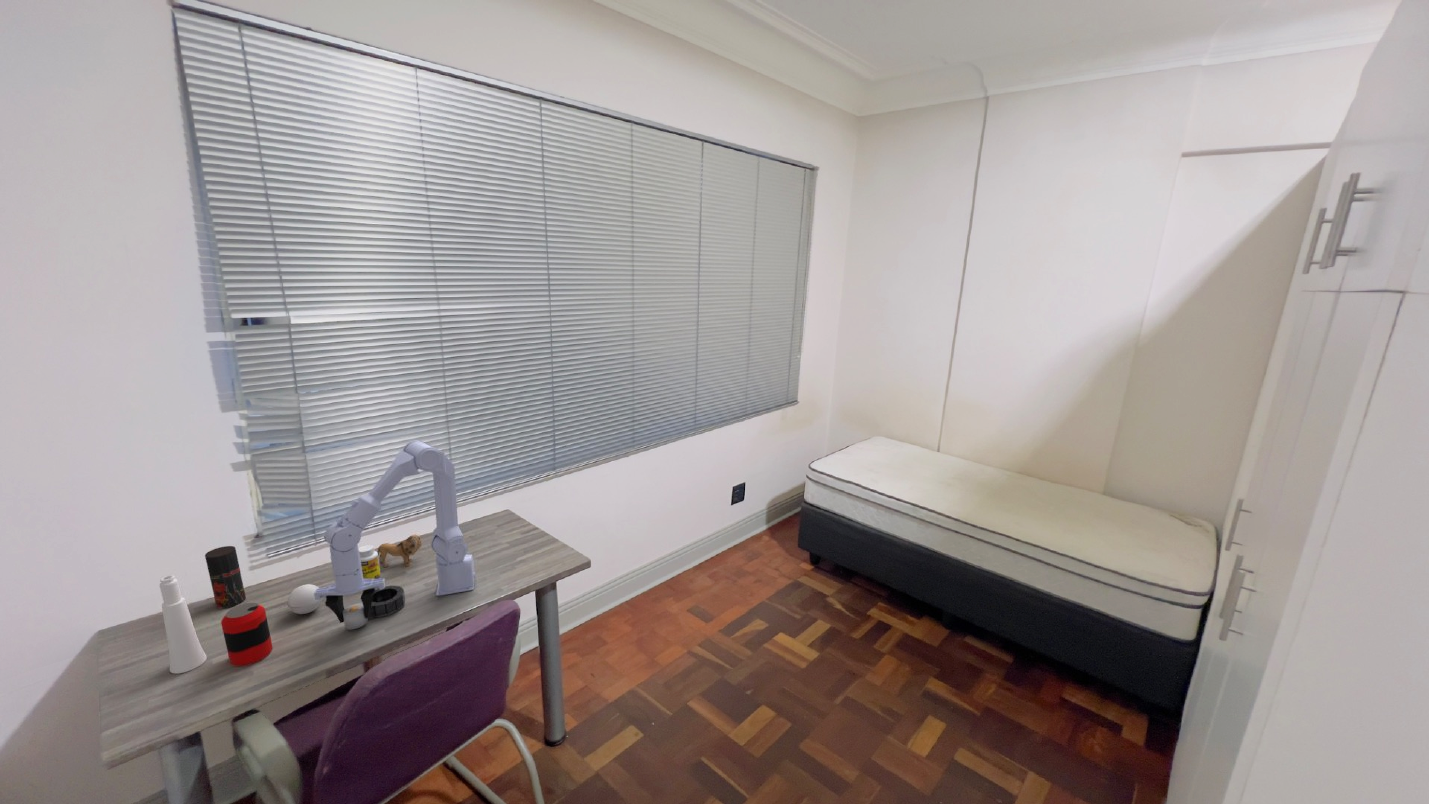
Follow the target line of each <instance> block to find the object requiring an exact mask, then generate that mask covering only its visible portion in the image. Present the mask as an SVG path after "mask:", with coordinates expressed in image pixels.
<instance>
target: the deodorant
mask: <svg viewBox="0 0 1429 804" xmlns="http://www.w3.org/2000/svg"><path fill="white" fill-rule="evenodd" d="M236 549H237V548H236V547H235V546H233V545H226V546H221V547H215V548H213V549H211V550H209V551H207V552H206V553H205V555H204V557H205V562H206V567H207V570H208V575H209V580H210V585H211V588H212V592H213V597H214V601H215V606H216V608H217V609H219V610H223V609H231V608H234V607H236V606H239V605H241V604H242V603H243V602H244V601H245V600H246V599H247V596H246V592H245V588H244V582H243V578H242V574H241V573H242V572H241V568H240V564H239V559H238V554H237V550H236Z"/></svg>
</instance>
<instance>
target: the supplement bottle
mask: <svg viewBox="0 0 1429 804" xmlns="http://www.w3.org/2000/svg"><path fill="white" fill-rule="evenodd" d="M358 549H359V554H360V561H361V567H362V573H363V579H381V577H382V575H381V569H380V568H381V566H380V560H379V558H380V557H379V556H378V553H377V551H376V550H375V548H374V545H372V544H371V545H370V544H367V545H363V546H361V547H358Z"/></svg>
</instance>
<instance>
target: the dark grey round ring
mask: <svg viewBox="0 0 1429 804" xmlns="http://www.w3.org/2000/svg"><path fill="white" fill-rule="evenodd" d="M405 603H406V597H405V590H404V588H402V586H399V585H387V586H386V585H385V588H384V589H381V590H379V589H376V590H375V592H374V595H373V599H372V603H371V614H370V616H369V618H372V619H378V618H379V619H380V618H385V617H388V616H391V615H394V614H395V613H397V612H398V611H400V610H402V609H403V608H404V606H405V605H406V604H405Z"/></svg>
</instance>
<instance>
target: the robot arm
mask: <svg viewBox="0 0 1429 804" xmlns="http://www.w3.org/2000/svg"><path fill="white" fill-rule="evenodd" d="M419 470H421V471H423V472H429V473H432V475H433V476H432V478H433V492H434V495H433V496H434V507H435V508H434V509H435V520H436V523H435V524H436V527H435V528H434V529H433V537H432V539H431V542H430V548H431V549H432V551H433V552H435V554H436V557H435V563H436V571H437V580H438V585H437V588H436V593H435V596H437V597H439V596H445V595H451V594H457V593H461V592H469V591H473V590H474V588H475V582H476V581H475V580H476V572H475V565H474V564H475V563H474V556H473V554H468V548H469V547H468V545H467V543H466V541H465V540H464V535H463V532H462V531H461V529H460V527H459V520H458V503H457V486H456V473H455V472H456V471H455V470H456V469H455V465H454V464H453V462H452V461H451V460H450V459H449V458H448V456H447V455H446V453H445V452H444V451H443V450H440V449H438V448H435V447H434V446H432V445H431V444H428V443H426V442H424V441H422V440H417V439H415V440H411V441H409V442H407V443H406V444H405V446H404V447H403V449H402V450H400V451H398V453H397V454H396V456H395V459H394V460H393V462H392V463H391V465H390V466H389V467H388V468H387V469H386V471H385V472H384V473H383V475H381V477H380V478H379V480H378V481H377V482H376V484H375V485H374V486H373V487H372V489H371V490H370V491H369V493H367V494H363V495H360V496H359V497H358V498H357V499H353V500H352V501H351V502H350V505H351V506H350V507H349V508H348V509H347V510H346V511H345V513H344V514H342V516H341V517H338V518H337V520H336V522H335V523H332V524H330V525H329V526H328V528H326V530H325V534H324V535H323V539H324V541H325V542H326V543H328V544H329V553H330V561H331V567H332V574H333V578H334V579H333V580H334V584H331V585H327V586H324V587H318V588H319V589H316V591H315V593H314V596H315V600H319V599H321V598H322V599H323V598H325V602H324V605H325V606H326V607H328V608H329V609H330V610H331V611H332V612H333V613H334V614H335V615H336V617H337V619H338V621H339V623H344V618H343V610H344V609H345V606H344V596H349V595H353V594H356V593H361V592H362V594H361V596H360V600H361V603H362V604H363V607H364V614H365V618H367V619H369V618H370V617H369V616H370V614H371V603H372V599H373V595H374V592H375V590H376V589H379V590H381V589H384V588H385V587H386V578H380V579H363V573H362V567H361V561H360V554H359V549H358V548H359V547H358V544H359V543H360V542H361V538H362V535H361V534H362V533H363V531H364V530H365V529H366V527H367V526H369V524H370V523H371V521H373V519H374V518H375V516H376V515H378V513H379V512H380V511H381V510H382V505H381V504H382V501H383V500H384V499H385V498H386V497H387V496H388V495H389V494H390V493H391V492H392V491H393V490H394V489H395V487H396V486H397V485H399V483H400V482H401V481H402V480H403V479H404V478H405V477H409V476H415V475H416V476H417V475H419V474H420V471H419Z"/></svg>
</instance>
